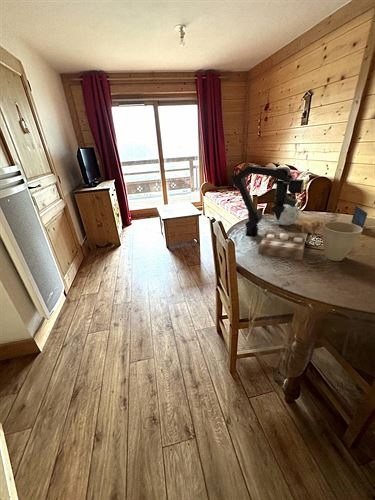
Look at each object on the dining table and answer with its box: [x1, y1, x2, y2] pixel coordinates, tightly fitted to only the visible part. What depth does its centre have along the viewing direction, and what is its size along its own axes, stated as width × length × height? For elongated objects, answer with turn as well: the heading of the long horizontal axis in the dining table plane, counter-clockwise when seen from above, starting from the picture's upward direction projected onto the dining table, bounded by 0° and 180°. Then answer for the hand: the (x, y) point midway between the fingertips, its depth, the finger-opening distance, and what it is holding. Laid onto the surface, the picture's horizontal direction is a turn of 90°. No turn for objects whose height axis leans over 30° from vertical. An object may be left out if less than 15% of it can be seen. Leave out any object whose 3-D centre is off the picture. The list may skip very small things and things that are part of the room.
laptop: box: [351, 204, 368, 234], centre depth 132 cm, size 18×12×13 cm
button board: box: [257, 230, 307, 261], centre depth 117 cm, size 21×22×5 cm
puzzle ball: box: [274, 204, 300, 227], centre depth 145 cm, size 15×15×15 cm
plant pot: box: [322, 221, 363, 262], centre depth 101 cm, size 15×15×16 cm
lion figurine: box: [297, 220, 324, 236], centre depth 131 cm, size 15×5×9 cm, turn 36°
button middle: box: [280, 232, 289, 240], centre depth 118 cm, size 4×4×4 cm
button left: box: [266, 234, 275, 239], centre depth 122 cm, size 4×4×4 cm
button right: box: [293, 237, 303, 242], centre depth 116 cm, size 4×4×4 cm
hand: (278, 219), depth 124 cm, fingers closed
